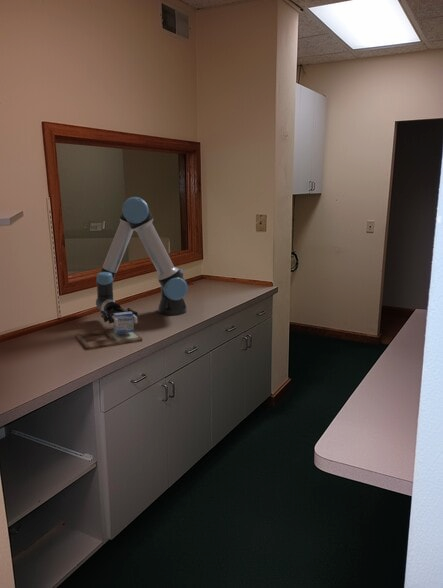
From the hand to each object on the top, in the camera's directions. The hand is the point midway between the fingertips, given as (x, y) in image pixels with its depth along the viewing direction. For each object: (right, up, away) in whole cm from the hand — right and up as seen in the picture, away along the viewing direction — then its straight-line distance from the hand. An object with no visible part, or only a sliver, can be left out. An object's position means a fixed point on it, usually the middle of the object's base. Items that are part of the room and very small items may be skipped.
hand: (126, 321), depth 202 cm
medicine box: (-2, -5, +5) cm, 8 cm away
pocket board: (-9, -8, +5) cm, 13 cm away
